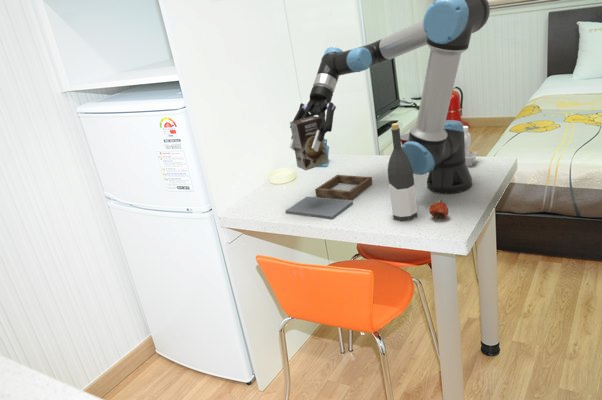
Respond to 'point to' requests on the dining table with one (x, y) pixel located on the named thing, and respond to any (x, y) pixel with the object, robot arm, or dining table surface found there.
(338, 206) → the slate mat
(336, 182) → the walnut cradle
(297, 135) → the coffee box
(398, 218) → the wine bottle
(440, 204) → the pomegranate
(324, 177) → the dining table surface
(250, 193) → the dining table surface
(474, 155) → the figurine
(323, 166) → the chair
